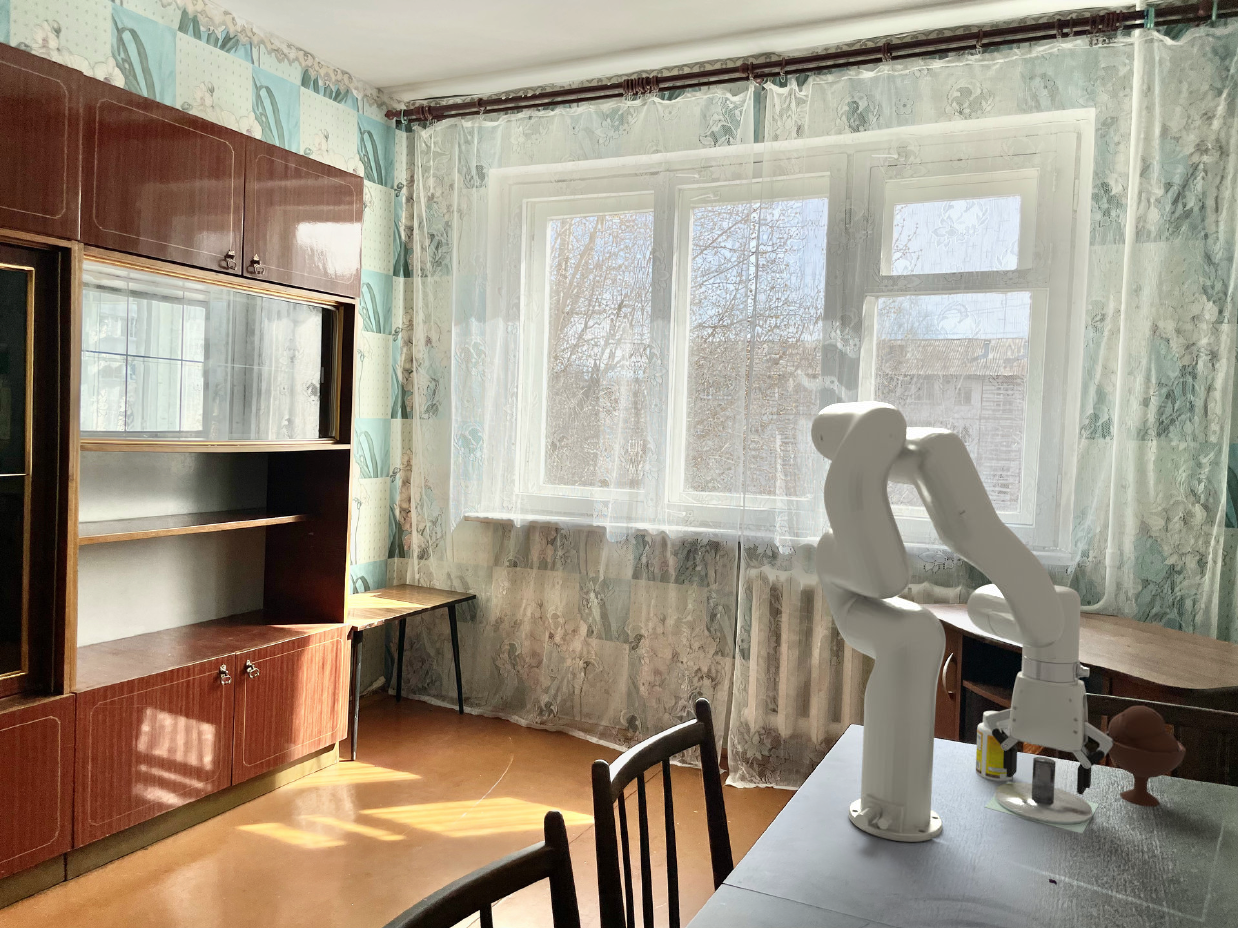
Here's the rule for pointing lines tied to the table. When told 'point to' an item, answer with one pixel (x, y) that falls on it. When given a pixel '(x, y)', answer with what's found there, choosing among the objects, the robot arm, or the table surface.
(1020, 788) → the lid
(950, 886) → the table surface
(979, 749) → the supplement bottle
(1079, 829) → the mat
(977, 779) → the table surface
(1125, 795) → the ice cream bowl
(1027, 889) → the table surface
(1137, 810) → the table surface
